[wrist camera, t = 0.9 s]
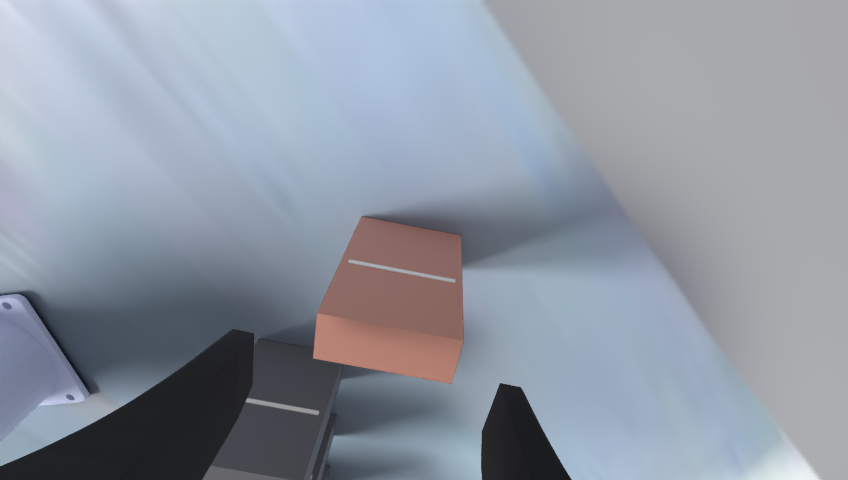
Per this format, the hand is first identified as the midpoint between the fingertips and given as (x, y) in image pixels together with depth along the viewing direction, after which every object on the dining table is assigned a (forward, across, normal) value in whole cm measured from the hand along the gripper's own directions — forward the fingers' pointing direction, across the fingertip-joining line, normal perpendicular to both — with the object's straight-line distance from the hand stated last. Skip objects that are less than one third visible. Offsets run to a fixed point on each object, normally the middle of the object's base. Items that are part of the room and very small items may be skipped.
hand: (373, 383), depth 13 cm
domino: (+10, +5, +10) cm, 15 cm away
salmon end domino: (+10, 0, +1) cm, 10 cm away
